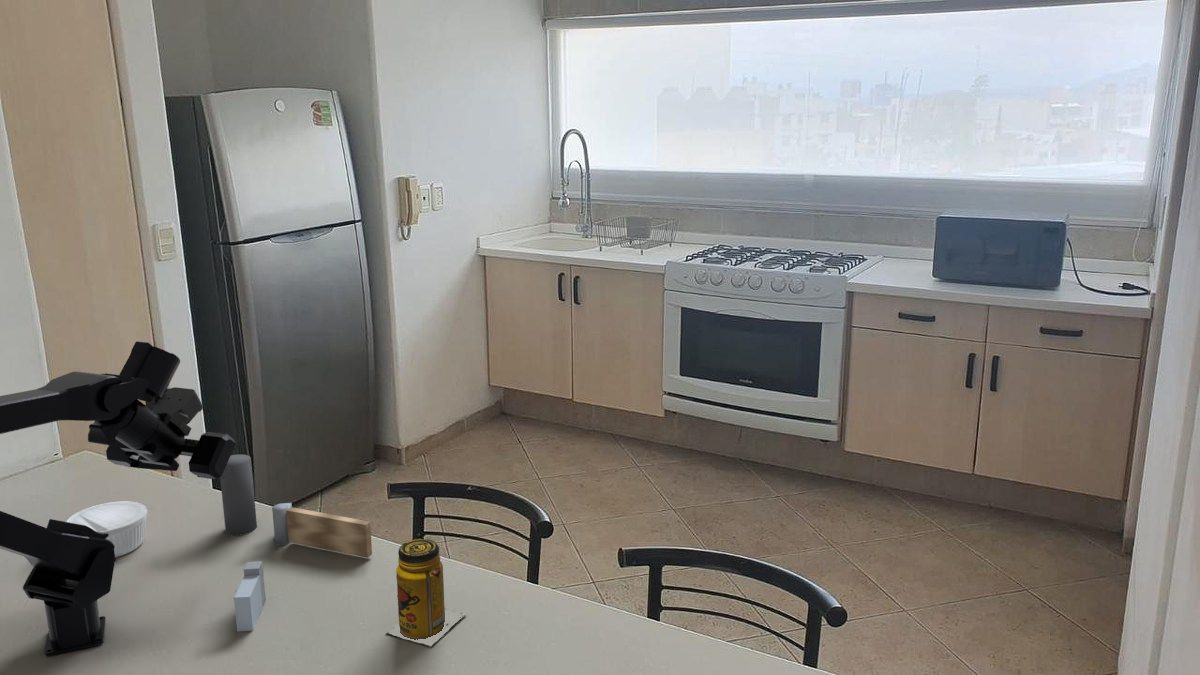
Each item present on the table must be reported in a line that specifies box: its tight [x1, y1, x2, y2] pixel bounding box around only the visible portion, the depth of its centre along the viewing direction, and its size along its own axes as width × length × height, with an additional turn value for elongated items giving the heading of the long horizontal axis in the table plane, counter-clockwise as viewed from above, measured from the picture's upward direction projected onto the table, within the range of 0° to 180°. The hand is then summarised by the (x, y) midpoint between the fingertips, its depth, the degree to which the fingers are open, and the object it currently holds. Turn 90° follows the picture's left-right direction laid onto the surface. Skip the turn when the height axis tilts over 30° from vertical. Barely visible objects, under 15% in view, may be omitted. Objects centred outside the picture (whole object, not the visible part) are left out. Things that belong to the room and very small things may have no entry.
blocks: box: [233, 502, 293, 632], centre depth 130 cm, size 28×2×6 cm, turn 8°
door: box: [286, 506, 373, 559], centre depth 138 cm, size 14×2×6 cm, turn 71°
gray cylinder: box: [219, 454, 258, 536], centre depth 144 cm, size 5×5×12 cm
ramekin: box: [65, 500, 148, 558], centre depth 139 cm, size 11×11×5 cm
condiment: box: [395, 538, 467, 640], centre depth 118 cm, size 7×8×12 cm
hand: (202, 471), depth 136 cm, fingers open, 9 cm apart
